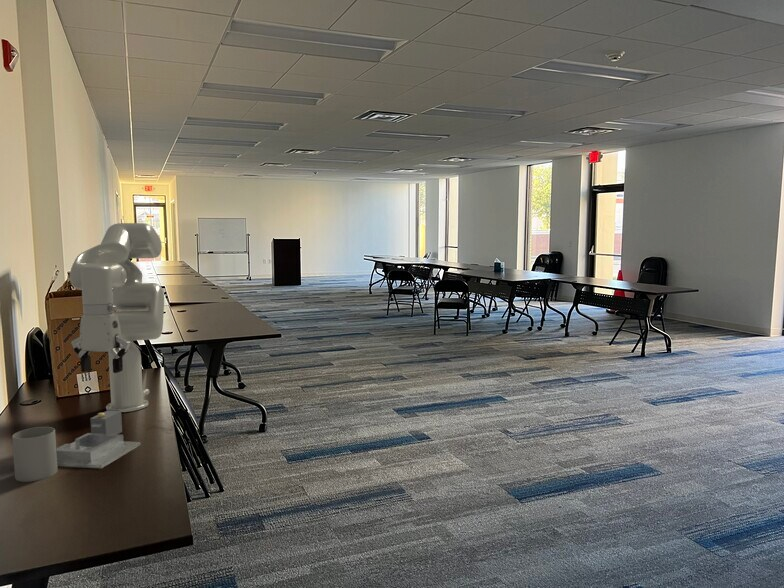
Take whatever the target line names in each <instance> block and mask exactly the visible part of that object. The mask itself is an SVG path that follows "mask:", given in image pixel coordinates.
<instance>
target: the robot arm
mask: <svg viewBox="0 0 784 588" xmlns="http://www.w3.org/2000/svg"><path fill="white" fill-rule="evenodd" d="M162 248H163V245H162V240H161V238H160V236H159V235H158V233H157V231H156V230H155V228H154V227H153V226H152V225H150V224H149V223H144V222H139V223H138V222H125V223H124V222H118V223H114V224H111V225H110V226H109V227H108V228H107V230H106V231H105V233H104V236H103V238H102V240H101V242H100V244H97V245H95V246H93V247H91V248H89V249H87V250H85V251H83V252H81V253H79V254H78V255H77V256H76V257H75V259H74V262H73V263H72V266H71V268H70V271H69V281H70V284H71V286H72V287H73V288H74V289H76V290H79V291H81V298H82V313H83V315H81V317H80V322H79V323H80V325H79V336H78V337H76V338H75V339H73V340H71V341H70V344H71V346H72V348H73V350H74V352H75V353H76V355H77V358H80V359H79V360H80V371H81V372H82V373H85V372H88V371H91V370H92V360H91V358H92V357H91V355H90V353H91V352H97V353H99V352H101V353H102V352H103V353H108V367H109V368H108V369H109V387H110V388H109V389H110V402H109V403H108V404H107V405H106V406H105V409H106V411H121V413H128V412H129V413H130V412H135V411H139V410H142V409H145V408H146V407H148V406H149V400H148V399H145V396H148V395H149V394H150V390H149V389H148V388H145V389H143V373H142V355H141V350H139V348H138V346H137V345H136V344H135V343H134V342H135V341H148V340H150V341H152V340H157V339H159V338H160V337H161V336H162V333H163V328H164V327H163V326H164V315H165V313H164V311H165V293H164V290H163V288H162V286H161V285H160V284H159V283H153V282H143V273H142V271H141V270H140V268H139V267H138V266H137V265H136V264H135V263H134V262H132V261H131V260H130V259H155V258H158V257H159V256H160V255H161V252H162V250H163V249H162Z"/></svg>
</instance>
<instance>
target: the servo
mask: <svg viewBox="0 0 784 588" xmlns="http://www.w3.org/2000/svg"><path fill="white" fill-rule="evenodd" d="M89 420H90V433H97V434H119V435H120V433H121V434H122V433H123V421H122V420H123V419H122V412H121V411H107V410H106V411H104V412H98V413H97V414H96V415H94V416H93V417H90V419H89Z"/></svg>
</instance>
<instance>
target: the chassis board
mask: <svg viewBox="0 0 784 588" xmlns="http://www.w3.org/2000/svg"><path fill="white" fill-rule="evenodd" d="M124 439H125V438H124V434H120V433H119V434H97V433H91V432H87V433H85V434H83V435H81V436H79V437H76V438H74V441H73V442H71V443H64V444H63V445H60V446H58V447H56V453H57V467H68V468H81V469H82V468H85V469H87V468H88V469H103V468H104V467H106V466H108V465H110V464H111V463H113V462H114V461H116V460H118V459H120V458H122V457H123V456H125V455H127V454H128V453H130V452H131V451H133V450H135V449H137V448H138V447H140V446H141V445H142V444H141V442H140V441H127V440H126V441H125V440H124Z"/></svg>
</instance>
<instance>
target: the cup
mask: <svg viewBox="0 0 784 588" xmlns="http://www.w3.org/2000/svg"><path fill="white" fill-rule="evenodd" d="M11 437H12V440H11V441H12V451H13V455H12V456H13V465H14V479H15V480H16V481H17V482H21V483H22V482H36V481H41V480H44V479H47V478H51V477H52V476H54V475H55V474H57V473H58V471H59V470H58V466H57V453H56V448H57V442H56V440H57V439H56V429H55V428H54V427H52V426H51V427H50V426H36V427H31V428H26V429H23V430H19V431H17V432H15V433H14V434H13V435H12V436H11Z"/></svg>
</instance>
